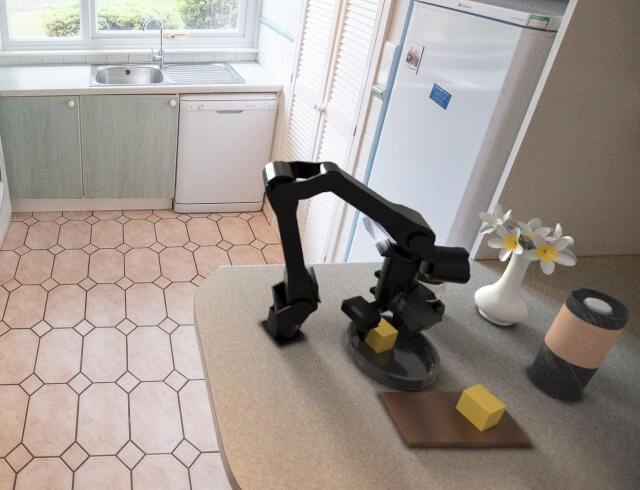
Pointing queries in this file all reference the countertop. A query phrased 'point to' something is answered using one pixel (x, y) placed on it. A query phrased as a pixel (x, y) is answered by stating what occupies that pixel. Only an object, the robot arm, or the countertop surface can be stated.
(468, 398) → the cheese front
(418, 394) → the board
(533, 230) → the flower vase
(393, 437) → the countertop surface
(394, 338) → the cheese back
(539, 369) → the travel mug
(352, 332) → the pan
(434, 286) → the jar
